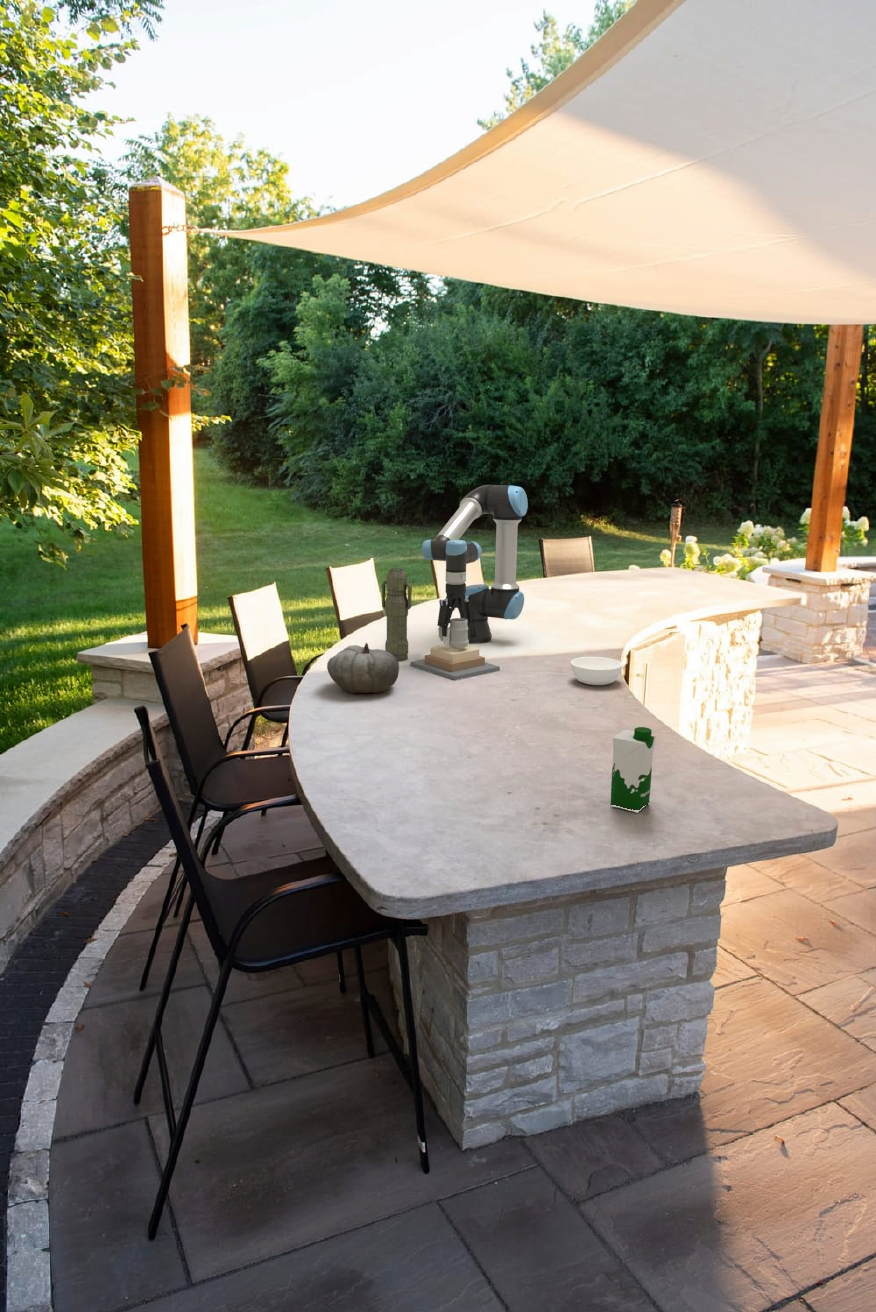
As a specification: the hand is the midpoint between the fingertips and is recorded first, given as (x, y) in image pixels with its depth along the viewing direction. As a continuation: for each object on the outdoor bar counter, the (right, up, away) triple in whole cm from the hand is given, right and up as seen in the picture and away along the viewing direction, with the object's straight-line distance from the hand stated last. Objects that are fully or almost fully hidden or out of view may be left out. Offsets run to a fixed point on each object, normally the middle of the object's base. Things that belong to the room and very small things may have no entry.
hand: (455, 642), depth 350 cm
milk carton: (+41, -42, -120) cm, 134 cm away
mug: (-1, -1, 0) cm, 1 cm away
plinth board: (0, -9, +2) cm, 10 cm away
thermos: (-22, -6, +15) cm, 27 cm away
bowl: (+50, -15, -15) cm, 54 cm away
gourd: (-32, -17, -26) cm, 44 cm away
